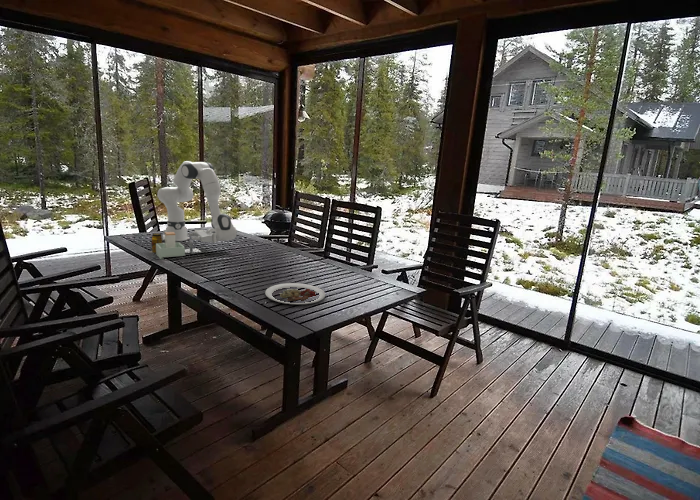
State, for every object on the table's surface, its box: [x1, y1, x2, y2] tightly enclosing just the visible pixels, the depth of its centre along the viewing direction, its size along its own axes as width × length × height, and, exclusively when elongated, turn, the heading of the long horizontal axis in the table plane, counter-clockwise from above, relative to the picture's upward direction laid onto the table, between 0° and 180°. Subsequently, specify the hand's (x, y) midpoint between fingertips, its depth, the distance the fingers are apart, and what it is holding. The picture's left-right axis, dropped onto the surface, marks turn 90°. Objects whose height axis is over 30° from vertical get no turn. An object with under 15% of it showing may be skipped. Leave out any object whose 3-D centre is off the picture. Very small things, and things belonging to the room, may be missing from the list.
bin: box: [155, 241, 186, 260], centre depth 245 cm, size 14×14×7 cm
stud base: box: [185, 240, 202, 254], centre depth 257 cm, size 10×10×8 cm
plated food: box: [264, 282, 326, 305], centre depth 196 cm, size 30×30×3 cm
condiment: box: [150, 232, 163, 254], centre depth 252 cm, size 7×8×12 cm
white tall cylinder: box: [164, 232, 176, 248], centre depth 244 cm, size 5×5×14 cm
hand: (190, 236), depth 251 cm, fingers open, 8 cm apart
